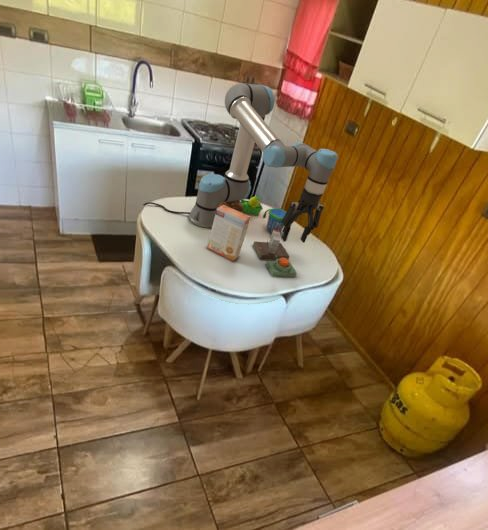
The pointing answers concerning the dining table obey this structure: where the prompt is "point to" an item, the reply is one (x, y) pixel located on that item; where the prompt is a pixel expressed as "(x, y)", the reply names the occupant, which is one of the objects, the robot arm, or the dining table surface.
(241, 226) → the cracker box
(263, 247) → the brown flat block
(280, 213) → the snack cup
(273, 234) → the tap lever
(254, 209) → the fruit basket
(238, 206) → the bread
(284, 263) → the button
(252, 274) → the dining table surface
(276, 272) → the button housing
